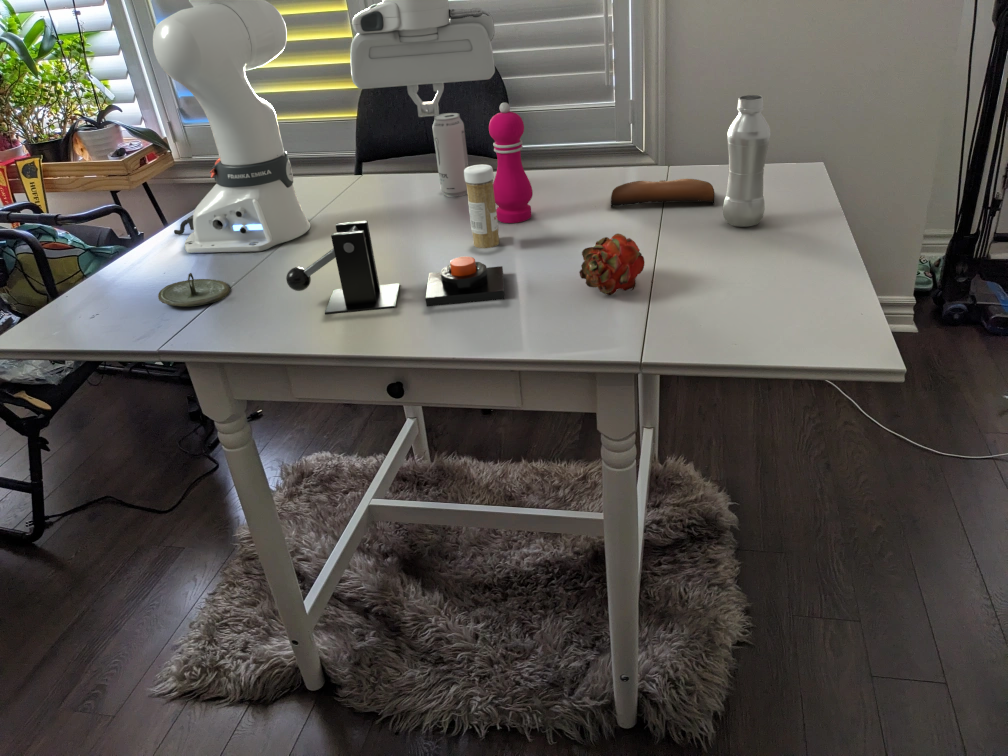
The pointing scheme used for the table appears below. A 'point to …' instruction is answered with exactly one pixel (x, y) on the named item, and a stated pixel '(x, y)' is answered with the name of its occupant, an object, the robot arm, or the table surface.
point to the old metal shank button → (193, 292)
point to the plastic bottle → (746, 163)
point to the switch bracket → (358, 273)
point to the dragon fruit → (612, 264)
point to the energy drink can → (450, 153)
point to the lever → (309, 270)
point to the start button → (463, 266)
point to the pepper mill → (510, 167)
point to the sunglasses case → (662, 192)
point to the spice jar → (482, 205)
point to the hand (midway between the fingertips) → (429, 115)
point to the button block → (465, 286)
